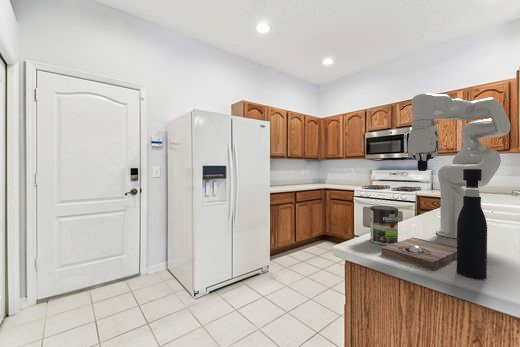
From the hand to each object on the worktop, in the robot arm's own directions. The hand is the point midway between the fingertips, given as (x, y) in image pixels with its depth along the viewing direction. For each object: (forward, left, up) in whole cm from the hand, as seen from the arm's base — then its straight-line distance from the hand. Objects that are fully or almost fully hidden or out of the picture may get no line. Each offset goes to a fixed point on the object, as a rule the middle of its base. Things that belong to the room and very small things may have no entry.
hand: (422, 170), depth 97 cm
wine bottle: (+21, +22, -29) cm, 42 cm away
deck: (+16, +7, -29) cm, 34 cm away
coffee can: (+12, -9, -29) cm, 33 cm away
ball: (+20, +7, -27) cm, 35 cm away
